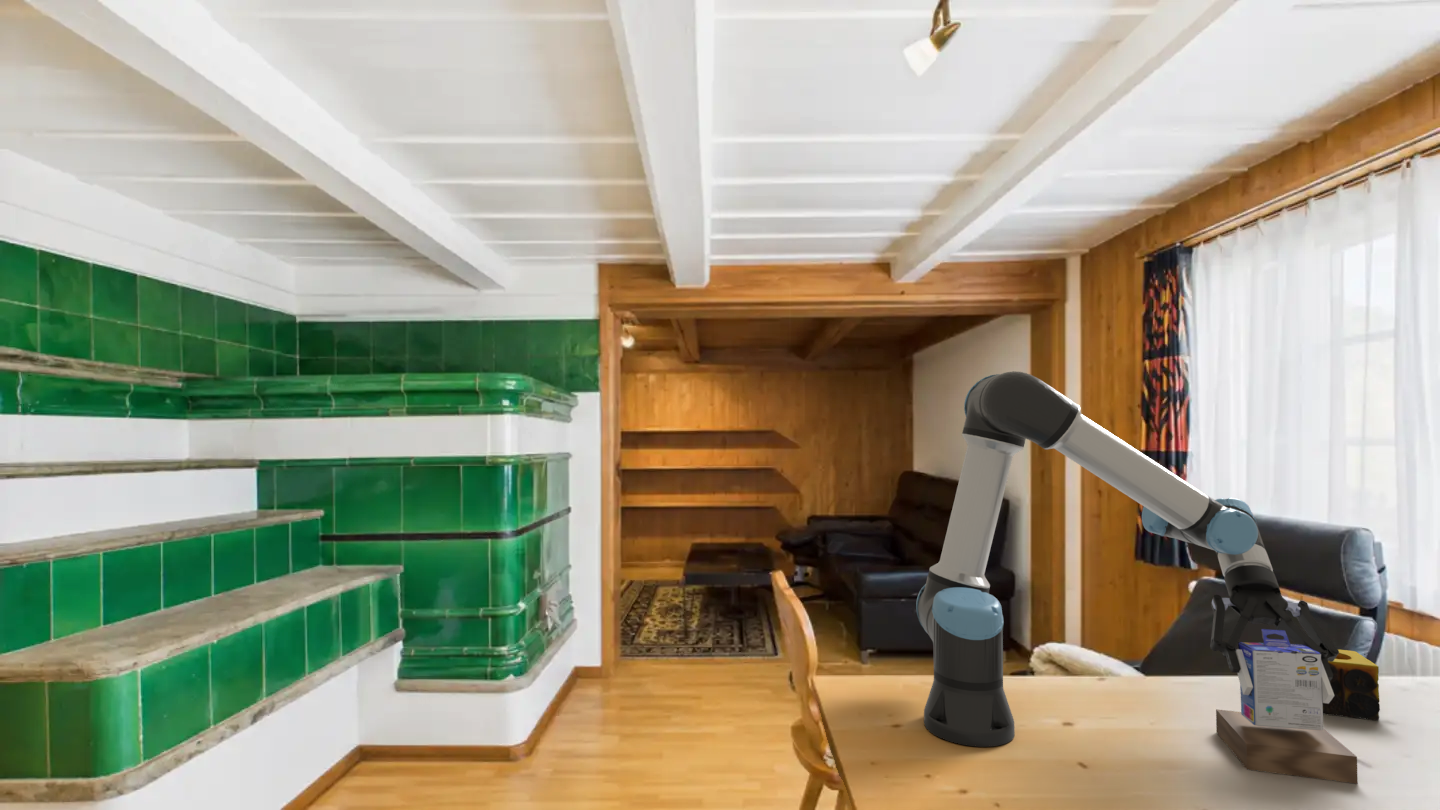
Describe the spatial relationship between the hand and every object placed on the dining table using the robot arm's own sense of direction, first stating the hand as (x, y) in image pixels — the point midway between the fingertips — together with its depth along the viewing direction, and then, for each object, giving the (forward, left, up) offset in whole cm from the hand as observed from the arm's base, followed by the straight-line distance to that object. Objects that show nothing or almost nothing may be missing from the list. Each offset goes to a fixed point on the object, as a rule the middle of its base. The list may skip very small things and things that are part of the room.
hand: (1287, 695), depth 113 cm
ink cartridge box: (0, +3, -6) cm, 6 cm away
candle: (+18, +30, -11) cm, 37 cm away
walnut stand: (0, +3, -11) cm, 11 cm away
